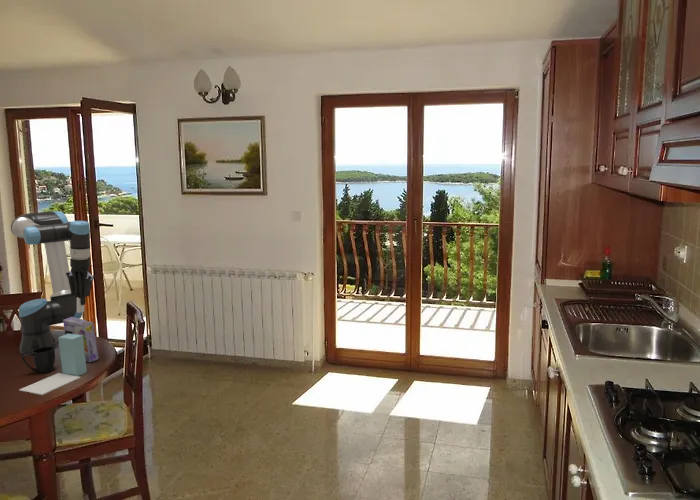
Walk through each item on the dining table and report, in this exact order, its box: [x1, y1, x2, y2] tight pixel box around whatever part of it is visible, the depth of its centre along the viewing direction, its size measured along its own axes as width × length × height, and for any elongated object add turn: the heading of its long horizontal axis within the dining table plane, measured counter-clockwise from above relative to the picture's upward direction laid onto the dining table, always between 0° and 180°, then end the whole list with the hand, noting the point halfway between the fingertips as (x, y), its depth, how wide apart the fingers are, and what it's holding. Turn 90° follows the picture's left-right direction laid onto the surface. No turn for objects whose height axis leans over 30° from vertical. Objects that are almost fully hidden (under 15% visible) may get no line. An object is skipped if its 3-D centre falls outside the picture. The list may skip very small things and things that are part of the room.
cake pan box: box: [62, 317, 100, 363], centre depth 246 cm, size 19×5×18 cm, turn 54°
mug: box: [21, 346, 56, 374], centre depth 231 cm, size 8×12×10 cm
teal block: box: [57, 334, 87, 377], centre depth 228 cm, size 8×5×16 cm, turn 67°
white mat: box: [18, 372, 81, 396], centre depth 219 cm, size 13×18×1 cm
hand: (80, 311), depth 236 cm, fingers closed
